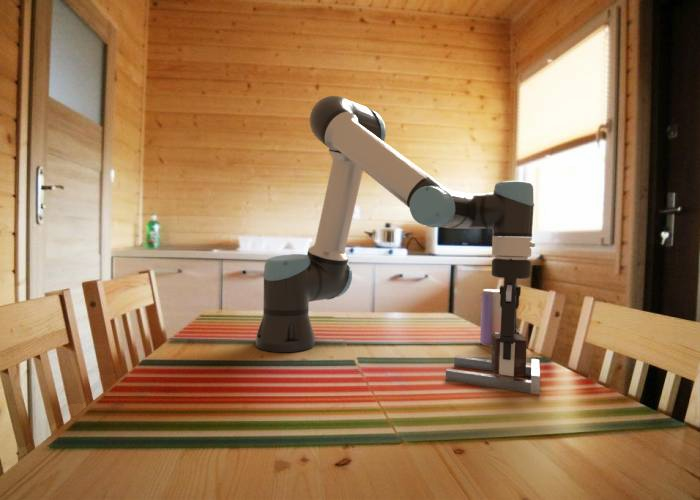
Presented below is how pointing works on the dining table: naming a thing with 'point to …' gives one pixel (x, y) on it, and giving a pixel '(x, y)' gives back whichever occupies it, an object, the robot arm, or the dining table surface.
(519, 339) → the box
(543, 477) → the dining table surface
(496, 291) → the beverage can
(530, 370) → the channel
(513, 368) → the robot arm
